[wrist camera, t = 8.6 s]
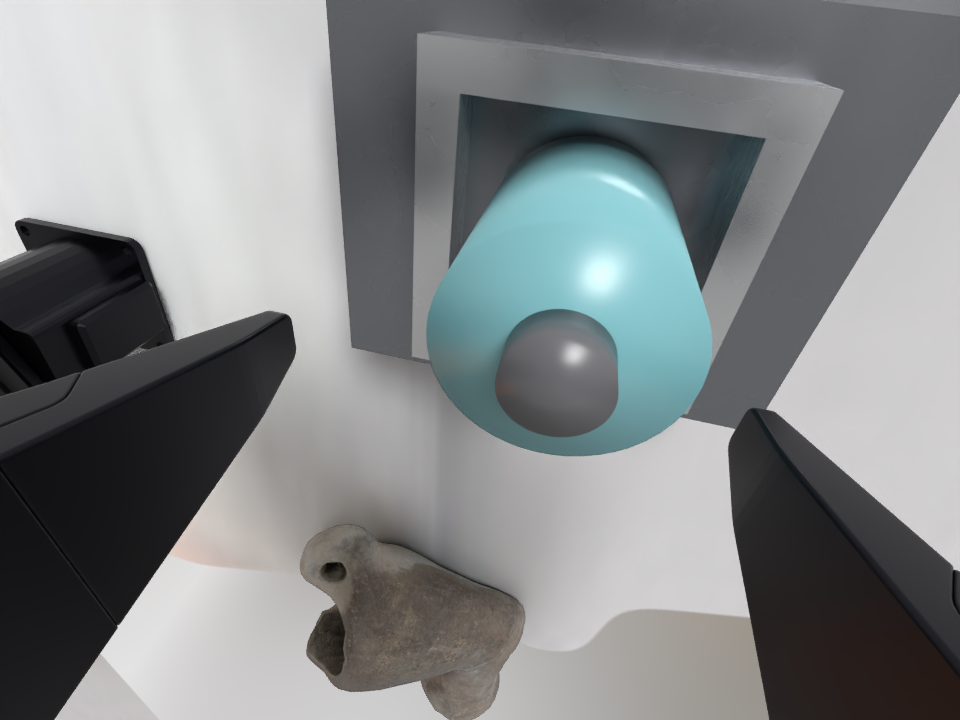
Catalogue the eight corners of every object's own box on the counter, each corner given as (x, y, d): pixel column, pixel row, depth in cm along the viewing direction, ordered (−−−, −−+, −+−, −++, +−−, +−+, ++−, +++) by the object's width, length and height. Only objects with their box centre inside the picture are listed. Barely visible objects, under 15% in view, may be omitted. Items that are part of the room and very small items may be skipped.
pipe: (489, 472, 40) (293, 492, 33) (550, 516, 32) (306, 554, 25) (478, 659, 41) (289, 712, 35) (533, 746, 33) (300, 836, 27)
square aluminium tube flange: (399, 300, 22) (335, 389, 17) (398, -75, 14) (280, -121, 9) (715, 363, 21) (752, 482, 15) (904, -20, 13) (1102, -38, 8)
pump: (480, 294, 15) (407, 459, 10) (500, 121, 12) (410, 217, 7) (641, 326, 15) (660, 520, 9) (704, 153, 12) (787, 287, 6)
